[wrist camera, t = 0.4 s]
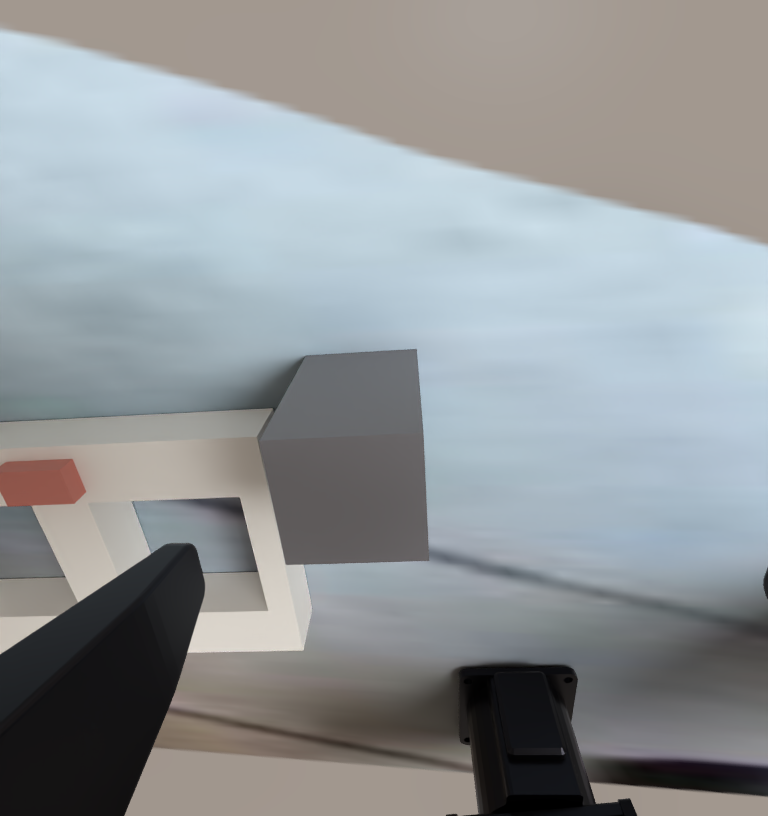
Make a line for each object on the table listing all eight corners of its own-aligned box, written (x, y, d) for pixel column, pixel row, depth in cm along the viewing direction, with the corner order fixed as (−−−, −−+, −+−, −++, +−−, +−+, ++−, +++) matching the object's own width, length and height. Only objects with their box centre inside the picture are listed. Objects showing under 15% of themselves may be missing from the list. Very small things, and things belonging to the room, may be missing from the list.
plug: (421, 446, 21) (429, 560, 15) (320, 450, 21) (285, 564, 15) (416, 348, 19) (423, 432, 13) (306, 355, 19) (258, 440, 13)
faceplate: (312, 608, 26) (300, 665, 23) (-4, 616, 27) (-55, 670, 24) (273, 408, 20) (250, 447, 17) (-116, 428, 22) (-199, 468, 19)
